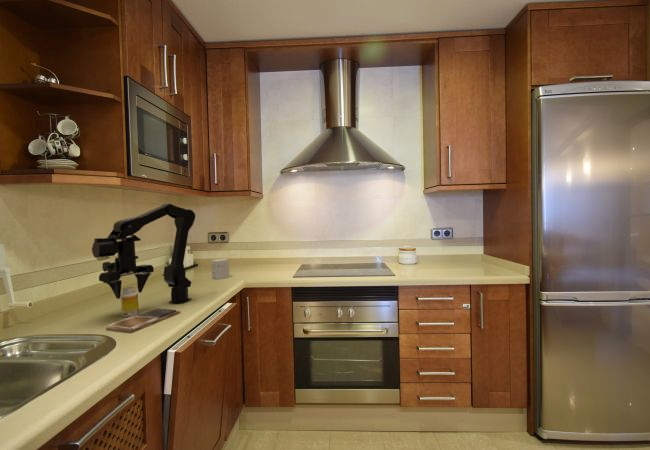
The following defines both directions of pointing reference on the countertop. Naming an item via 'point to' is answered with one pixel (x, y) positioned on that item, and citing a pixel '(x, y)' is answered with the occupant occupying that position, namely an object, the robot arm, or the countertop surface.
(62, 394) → the countertop surface
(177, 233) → the robot arm
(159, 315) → the board
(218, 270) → the small box
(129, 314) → the supplement bottle
